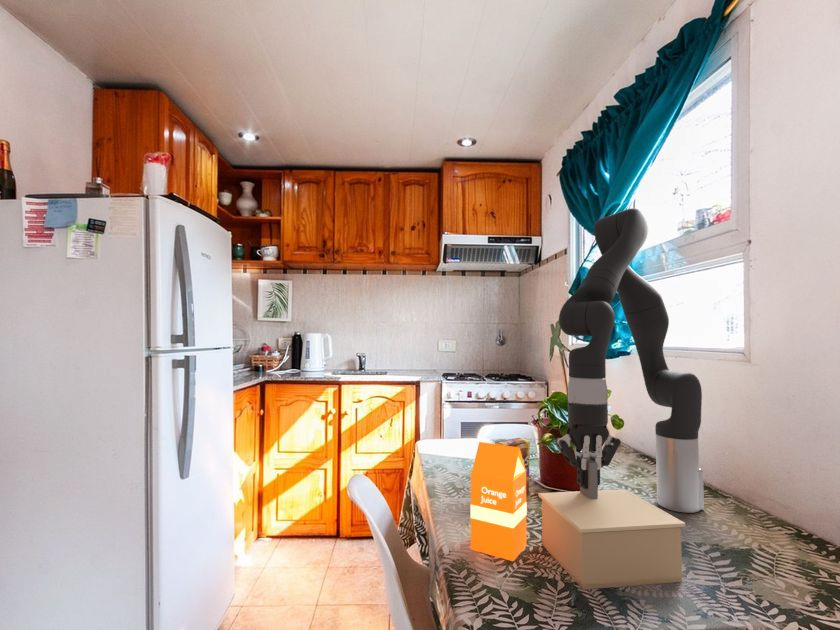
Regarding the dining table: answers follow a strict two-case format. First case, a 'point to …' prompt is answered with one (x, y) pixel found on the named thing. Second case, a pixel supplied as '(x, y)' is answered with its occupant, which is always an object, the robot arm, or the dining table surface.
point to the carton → (613, 553)
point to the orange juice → (498, 501)
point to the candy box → (525, 453)
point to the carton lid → (607, 508)
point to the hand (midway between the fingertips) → (588, 487)
